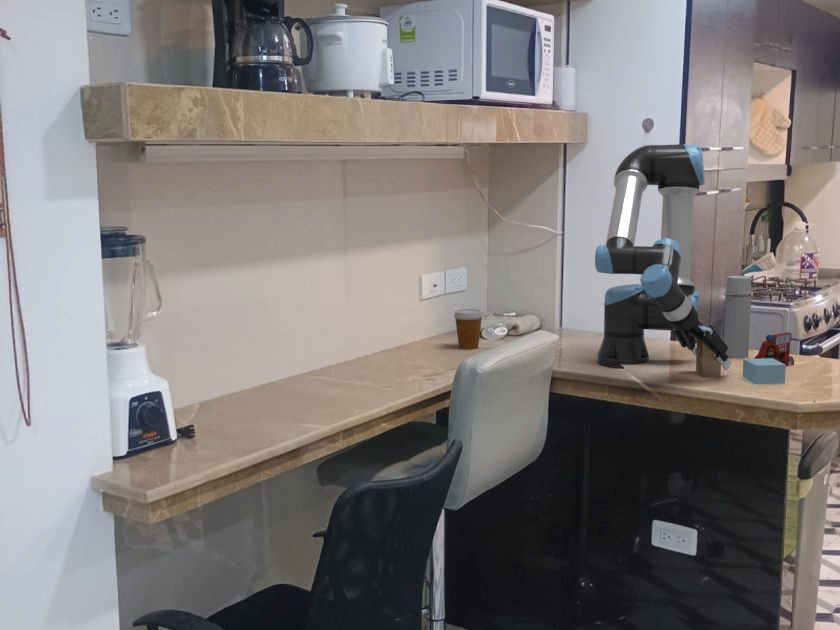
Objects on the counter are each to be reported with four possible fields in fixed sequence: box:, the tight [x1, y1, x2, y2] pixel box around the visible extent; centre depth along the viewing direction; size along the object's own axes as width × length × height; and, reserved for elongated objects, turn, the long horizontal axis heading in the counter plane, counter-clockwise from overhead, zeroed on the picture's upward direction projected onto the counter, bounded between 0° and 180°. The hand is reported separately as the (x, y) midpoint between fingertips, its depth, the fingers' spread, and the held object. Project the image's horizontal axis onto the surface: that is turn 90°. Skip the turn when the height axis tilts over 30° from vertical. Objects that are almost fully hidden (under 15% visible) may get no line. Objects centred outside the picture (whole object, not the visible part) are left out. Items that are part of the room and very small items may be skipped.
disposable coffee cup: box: [453, 308, 484, 350], centre depth 296 cm, size 10×10×12 cm
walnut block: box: [695, 339, 722, 378], centre depth 249 cm, size 5×5×10 cm
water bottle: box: [719, 275, 753, 359], centre depth 272 cm, size 9×8×25 cm
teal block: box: [742, 358, 787, 385], centre depth 242 cm, size 8×8×5 cm
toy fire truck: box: [753, 331, 795, 367], centre depth 260 cm, size 7×12×10 cm, turn 119°
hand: (716, 363), depth 251 cm, fingers closed on walnut block, 7 cm apart
